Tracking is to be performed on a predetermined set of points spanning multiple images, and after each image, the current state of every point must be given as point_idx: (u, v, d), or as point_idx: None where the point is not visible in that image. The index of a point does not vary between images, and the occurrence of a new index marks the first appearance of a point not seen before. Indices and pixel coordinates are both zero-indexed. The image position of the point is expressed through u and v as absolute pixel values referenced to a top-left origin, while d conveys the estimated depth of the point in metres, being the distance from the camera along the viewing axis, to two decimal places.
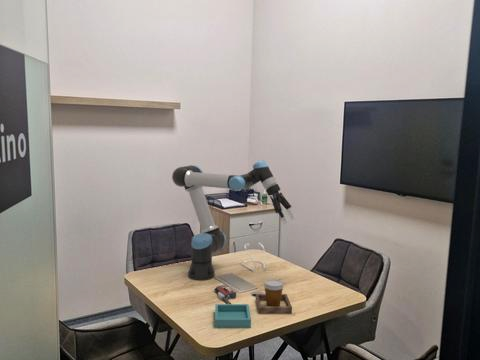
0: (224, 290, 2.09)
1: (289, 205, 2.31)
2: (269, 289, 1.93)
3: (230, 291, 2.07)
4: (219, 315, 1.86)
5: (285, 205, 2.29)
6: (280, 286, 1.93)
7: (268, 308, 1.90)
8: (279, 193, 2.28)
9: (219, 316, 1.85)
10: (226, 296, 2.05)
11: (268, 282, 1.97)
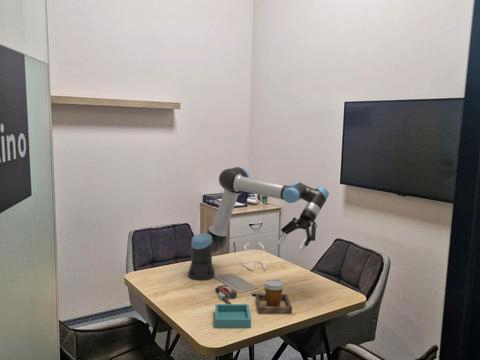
0: (225, 290, 2.09)
1: None
2: (269, 289, 1.93)
3: (230, 291, 2.07)
4: (219, 315, 1.86)
5: (289, 230, 2.09)
6: (280, 286, 1.93)
7: (268, 308, 1.90)
8: None
9: (219, 316, 1.85)
10: (226, 296, 2.05)
11: (268, 282, 1.97)
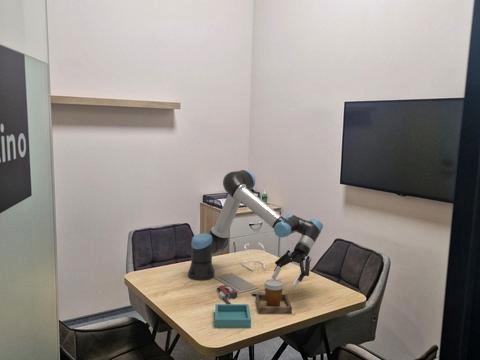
0: (226, 290, 2.10)
1: None
2: (269, 289, 1.93)
3: (231, 291, 2.07)
4: (219, 315, 1.86)
5: (283, 264, 2.07)
6: (280, 286, 1.93)
7: (268, 308, 1.90)
8: None
9: (219, 316, 1.85)
10: (227, 296, 2.05)
11: (268, 282, 1.97)
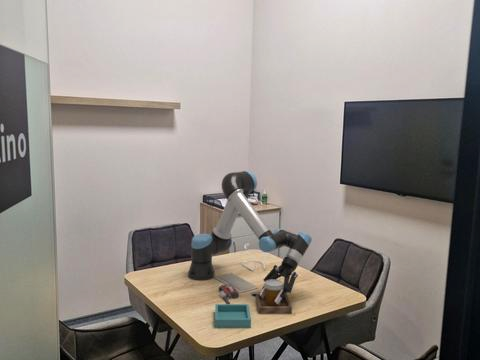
0: (227, 289, 2.10)
1: None
2: (269, 289, 1.93)
3: (232, 291, 2.08)
4: (219, 315, 1.86)
5: None
6: (280, 286, 1.93)
7: (268, 308, 1.90)
8: None
9: (219, 316, 1.85)
10: (227, 295, 2.06)
11: (268, 282, 1.97)
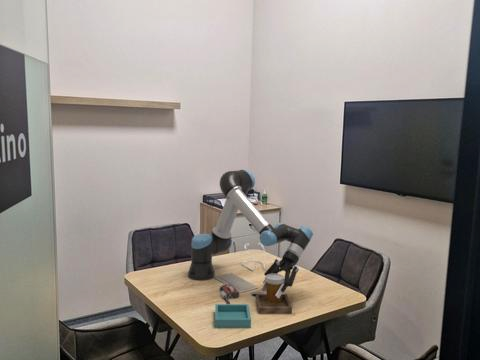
0: (227, 289, 2.11)
1: None
2: (270, 283, 1.92)
3: (232, 291, 2.08)
4: (219, 315, 1.86)
5: None
6: (281, 280, 1.93)
7: (268, 308, 1.90)
8: None
9: (219, 316, 1.85)
10: (228, 295, 2.06)
11: (269, 276, 1.97)
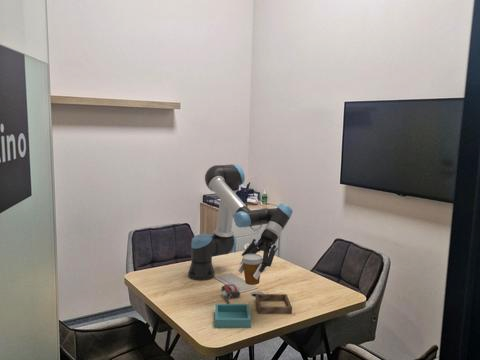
0: (229, 289, 2.11)
1: None
2: (247, 264, 1.81)
3: (233, 290, 2.08)
4: (219, 315, 1.86)
5: None
6: (259, 260, 1.81)
7: (268, 308, 1.90)
8: None
9: (219, 316, 1.85)
10: (228, 295, 2.06)
11: (246, 256, 1.85)
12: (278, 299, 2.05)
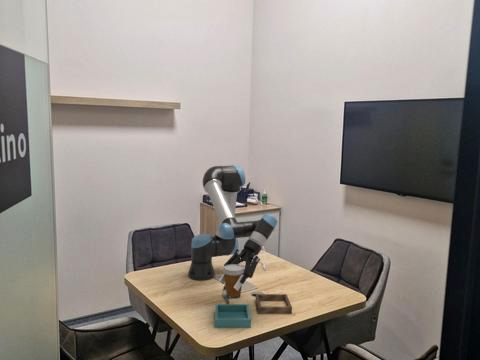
0: None
1: None
2: (228, 274, 1.77)
3: None
4: (219, 315, 1.86)
5: None
6: (240, 271, 1.77)
7: (268, 308, 1.90)
8: None
9: (219, 316, 1.85)
10: None
11: (228, 267, 1.81)
12: (278, 299, 2.05)
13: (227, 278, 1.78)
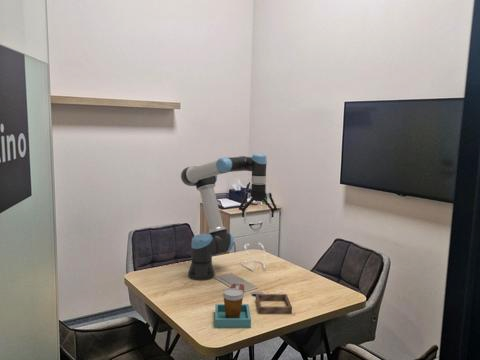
0: None
1: None
2: (227, 299, 1.79)
3: None
4: (219, 315, 1.86)
5: None
6: (239, 296, 1.80)
7: (268, 308, 1.90)
8: None
9: (219, 316, 1.85)
10: None
11: (227, 291, 1.84)
12: (278, 299, 2.05)
13: (226, 303, 1.80)
